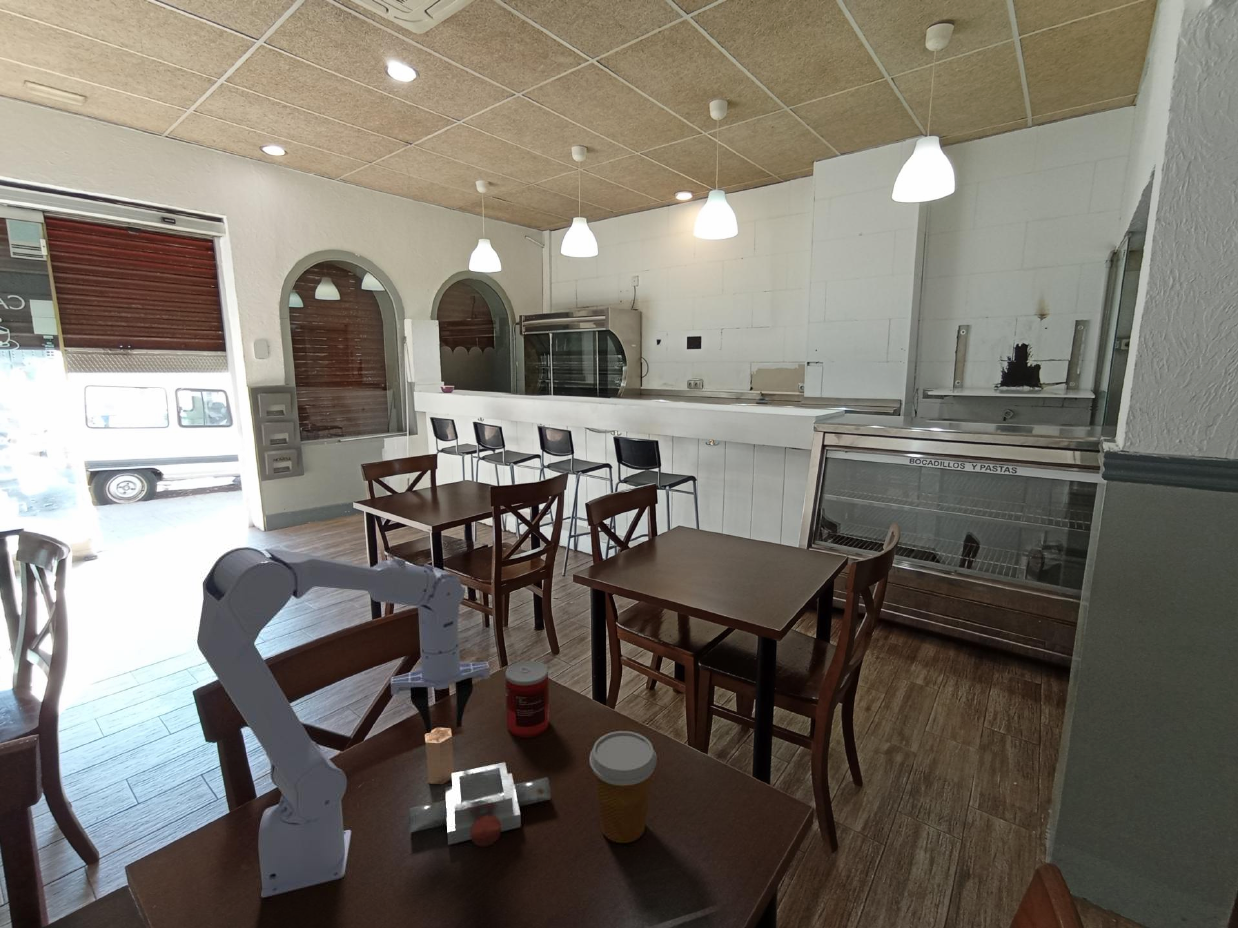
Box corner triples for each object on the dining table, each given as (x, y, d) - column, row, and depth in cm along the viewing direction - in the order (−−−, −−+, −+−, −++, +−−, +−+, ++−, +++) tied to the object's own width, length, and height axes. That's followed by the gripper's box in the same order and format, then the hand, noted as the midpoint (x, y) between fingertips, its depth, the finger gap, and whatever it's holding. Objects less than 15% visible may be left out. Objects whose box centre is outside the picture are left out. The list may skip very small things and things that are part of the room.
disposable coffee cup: (579, 841, 78) (578, 762, 77) (604, 794, 87) (604, 723, 85) (644, 861, 75) (645, 779, 73) (663, 810, 84) (664, 736, 82)
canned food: (527, 708, 110) (526, 656, 108) (558, 723, 105) (557, 668, 104) (497, 728, 104) (495, 672, 102) (528, 744, 99) (527, 686, 98)
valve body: (409, 868, 74) (407, 838, 73) (411, 807, 85) (409, 779, 84) (558, 830, 80) (558, 801, 80) (543, 777, 91) (542, 751, 90)
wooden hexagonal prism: (429, 787, 89) (425, 746, 88) (427, 770, 93) (424, 730, 92) (455, 780, 90) (452, 739, 89) (452, 763, 94) (449, 724, 93)
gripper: (387, 665, 81) (393, 751, 83) (490, 649, 86) (493, 731, 88) (390, 643, 87) (395, 724, 89) (485, 630, 92) (488, 707, 94)
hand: (443, 726), depth 89 cm, fingers open, 4 cm apart
